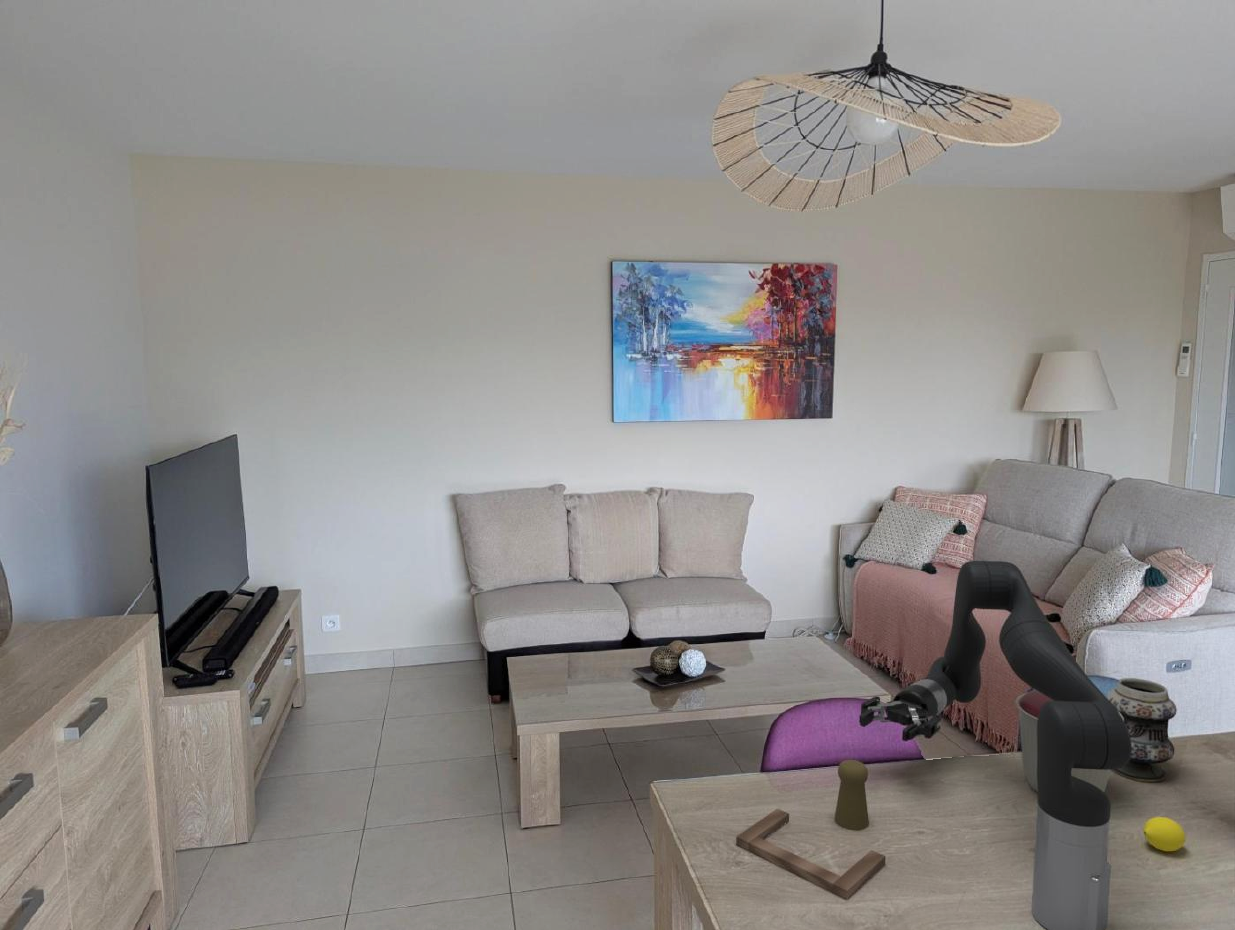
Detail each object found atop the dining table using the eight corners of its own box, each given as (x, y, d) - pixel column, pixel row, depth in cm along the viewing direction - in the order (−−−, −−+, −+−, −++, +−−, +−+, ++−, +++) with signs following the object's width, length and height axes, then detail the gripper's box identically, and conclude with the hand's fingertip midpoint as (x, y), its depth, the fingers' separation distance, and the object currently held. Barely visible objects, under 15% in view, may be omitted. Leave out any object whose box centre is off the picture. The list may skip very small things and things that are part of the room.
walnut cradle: (885, 864, 133) (885, 856, 133) (846, 899, 125) (847, 890, 125) (777, 816, 148) (777, 808, 148) (736, 844, 139) (736, 836, 139)
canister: (1023, 809, 150) (1029, 700, 147) (1002, 764, 167) (1007, 665, 165) (1133, 822, 146) (1141, 709, 143) (1099, 773, 163) (1106, 672, 161)
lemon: (1167, 841, 140) (1174, 812, 140) (1192, 860, 135) (1198, 829, 134) (1130, 838, 140) (1136, 808, 139) (1153, 856, 134) (1159, 826, 134)
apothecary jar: (1171, 765, 166) (1177, 681, 164) (1173, 791, 156) (1180, 701, 154) (1102, 751, 172) (1107, 669, 170) (1100, 775, 162) (1106, 689, 160)
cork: (870, 832, 143) (872, 773, 142) (835, 828, 144) (836, 769, 143) (867, 813, 149) (868, 757, 148) (833, 810, 150) (834, 754, 149)
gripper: (888, 675, 169) (848, 699, 157) (956, 695, 159) (919, 721, 147) (886, 709, 170) (847, 735, 158) (954, 731, 160) (918, 760, 148)
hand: (882, 728), depth 153 cm, fingers open, 8 cm apart
